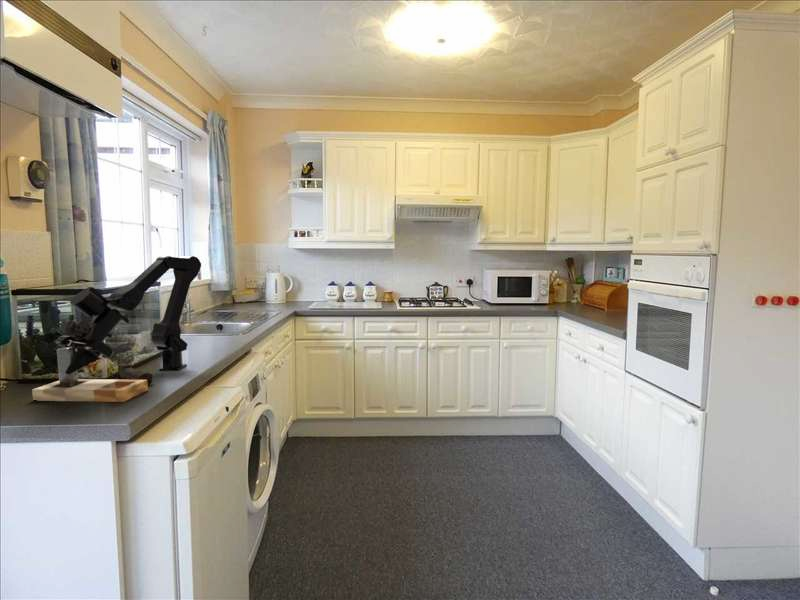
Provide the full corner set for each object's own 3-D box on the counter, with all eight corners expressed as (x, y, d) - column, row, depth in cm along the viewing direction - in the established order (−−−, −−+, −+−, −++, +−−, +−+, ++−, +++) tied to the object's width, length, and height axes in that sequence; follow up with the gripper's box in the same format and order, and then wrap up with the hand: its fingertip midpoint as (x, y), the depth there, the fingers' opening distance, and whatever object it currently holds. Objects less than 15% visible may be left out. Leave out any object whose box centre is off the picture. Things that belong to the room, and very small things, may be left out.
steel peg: (69, 392, 122) (65, 346, 120) (82, 392, 122) (78, 347, 120) (57, 397, 118) (52, 350, 117) (71, 397, 118) (66, 350, 116)
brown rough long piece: (153, 384, 130) (152, 369, 129) (139, 387, 127) (138, 372, 126) (129, 374, 142) (128, 360, 141) (115, 377, 138) (114, 362, 138)
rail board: (64, 389, 125) (63, 378, 125) (147, 390, 123) (147, 379, 123) (33, 400, 115) (32, 389, 115) (123, 401, 114) (122, 390, 113)
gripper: (60, 307, 125) (16, 353, 116) (98, 310, 117) (55, 360, 108) (91, 330, 133) (53, 374, 124) (130, 334, 125) (91, 382, 116)
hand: (62, 372), depth 118 cm, fingers closed on steel peg, 4 cm apart
